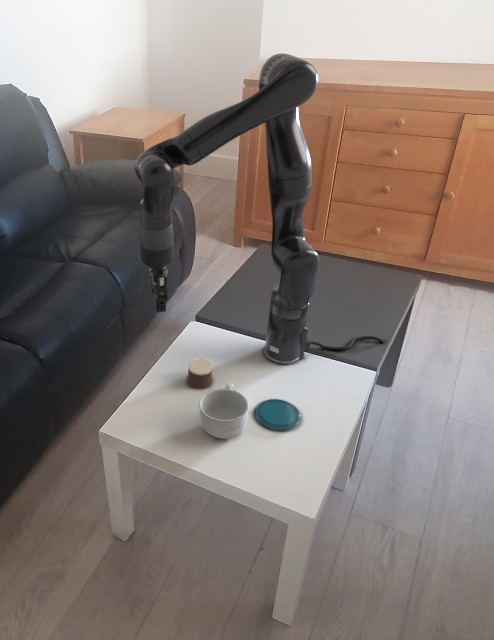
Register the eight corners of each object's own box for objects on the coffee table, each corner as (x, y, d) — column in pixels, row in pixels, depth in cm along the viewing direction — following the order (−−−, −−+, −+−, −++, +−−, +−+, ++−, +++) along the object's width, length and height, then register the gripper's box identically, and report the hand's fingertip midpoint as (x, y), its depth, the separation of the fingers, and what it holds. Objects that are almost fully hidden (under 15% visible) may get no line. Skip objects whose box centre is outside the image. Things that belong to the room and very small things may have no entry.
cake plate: (291, 399, 144) (291, 396, 143) (305, 428, 136) (306, 426, 135) (250, 403, 144) (251, 400, 143) (262, 432, 136) (263, 430, 135)
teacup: (235, 451, 132) (238, 426, 127) (191, 435, 137) (191, 410, 132) (256, 413, 141) (259, 387, 136) (214, 399, 146) (215, 374, 141)
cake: (208, 372, 155) (209, 357, 152) (213, 387, 150) (214, 372, 147) (185, 374, 154) (186, 359, 152) (190, 389, 150) (190, 374, 147)
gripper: (178, 254, 127) (179, 316, 136) (168, 225, 139) (169, 284, 148) (143, 258, 127) (146, 319, 136) (136, 229, 139) (140, 287, 148)
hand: (158, 301), depth 142 cm, fingers open, 8 cm apart
